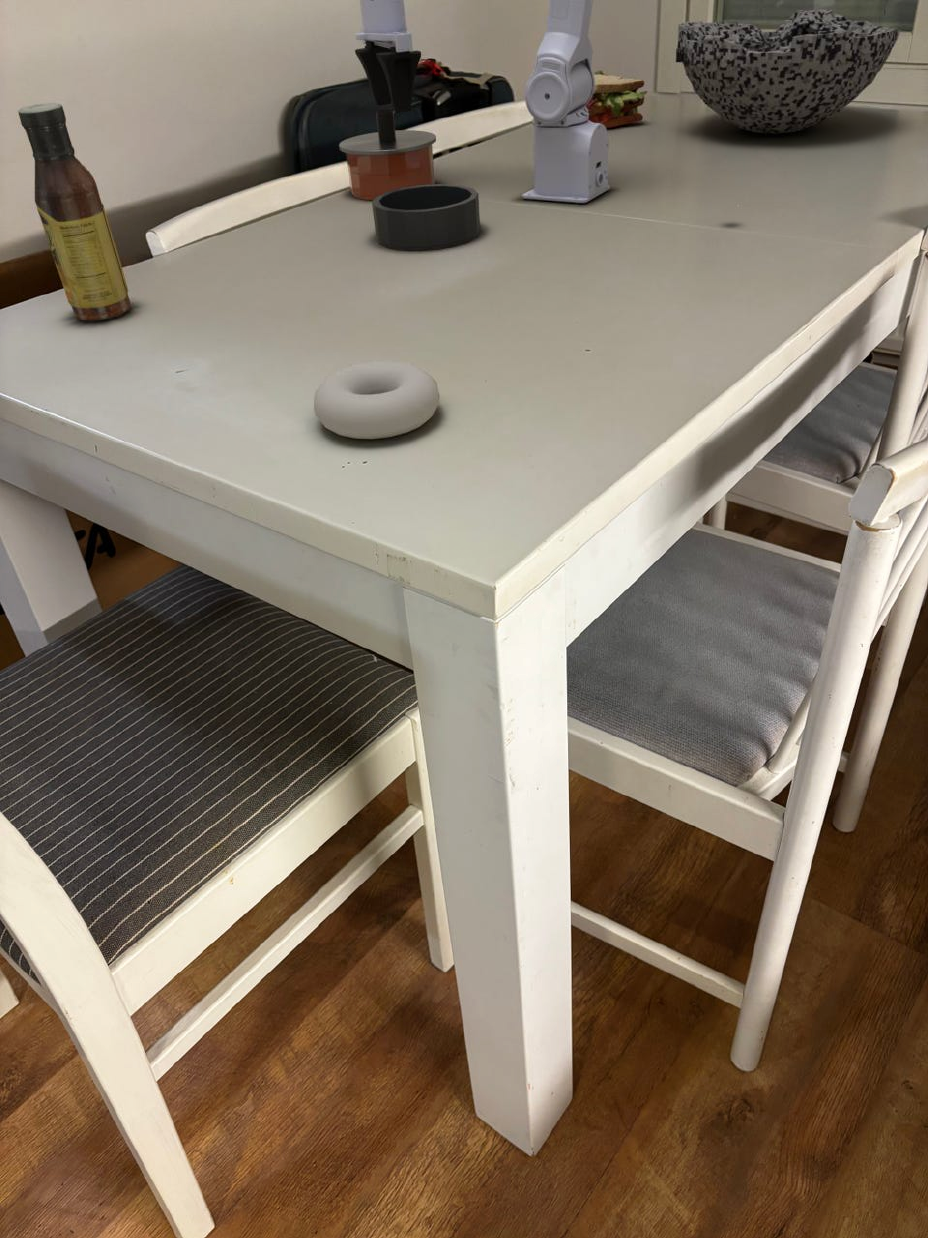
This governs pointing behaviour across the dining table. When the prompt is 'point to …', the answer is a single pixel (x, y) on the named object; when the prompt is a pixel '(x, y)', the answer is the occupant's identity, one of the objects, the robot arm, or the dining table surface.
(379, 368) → the donut
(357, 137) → the lid
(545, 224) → the dining table surface
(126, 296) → the sauce bottle
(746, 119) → the bowl
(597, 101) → the sandwich
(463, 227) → the dark grey cake pan
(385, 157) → the pot
